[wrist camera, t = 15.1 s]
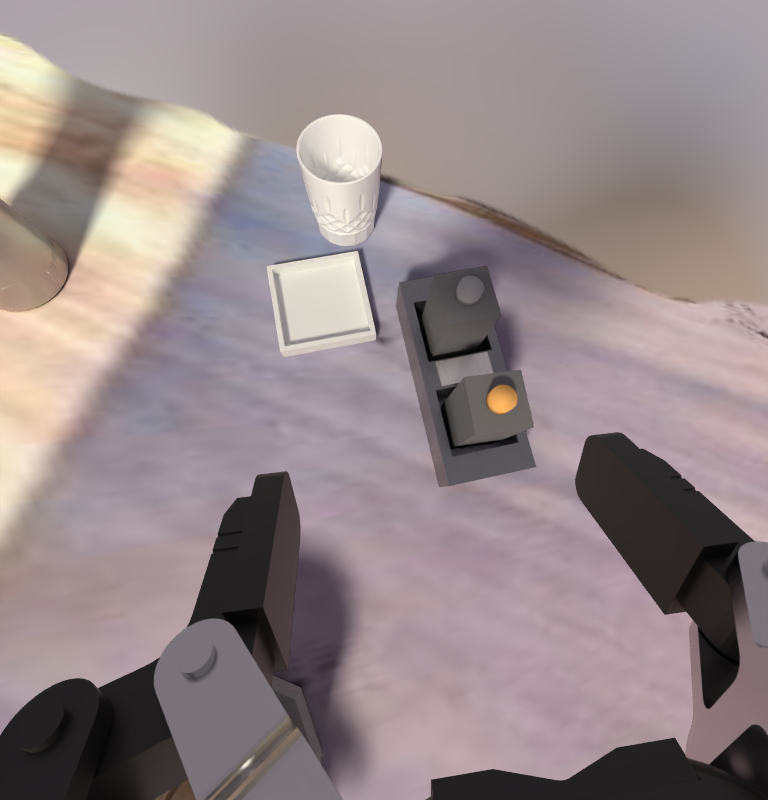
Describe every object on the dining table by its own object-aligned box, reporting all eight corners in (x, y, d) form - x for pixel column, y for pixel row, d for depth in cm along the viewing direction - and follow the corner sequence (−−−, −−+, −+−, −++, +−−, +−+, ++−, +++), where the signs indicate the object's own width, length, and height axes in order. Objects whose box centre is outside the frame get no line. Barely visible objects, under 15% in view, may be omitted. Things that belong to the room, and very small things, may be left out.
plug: (448, 449, 38) (479, 432, 28) (441, 405, 39) (468, 372, 29) (493, 443, 39) (540, 424, 28) (484, 400, 40) (527, 364, 29)
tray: (283, 357, 41) (280, 351, 40) (270, 274, 43) (266, 266, 42) (375, 340, 42) (376, 334, 40) (358, 259, 44) (357, 250, 43)
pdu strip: (439, 486, 39) (449, 485, 33) (396, 306, 43) (399, 280, 38) (515, 470, 39) (537, 466, 34) (465, 293, 44) (478, 267, 38)
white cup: (393, 223, 45) (400, 150, 36) (344, 264, 44) (337, 199, 34) (347, 181, 47) (341, 99, 37) (298, 220, 45) (278, 145, 35)
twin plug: (428, 365, 40) (450, 318, 30) (419, 326, 41) (436, 266, 31) (470, 357, 41) (506, 308, 30) (459, 318, 42) (490, 257, 31)
